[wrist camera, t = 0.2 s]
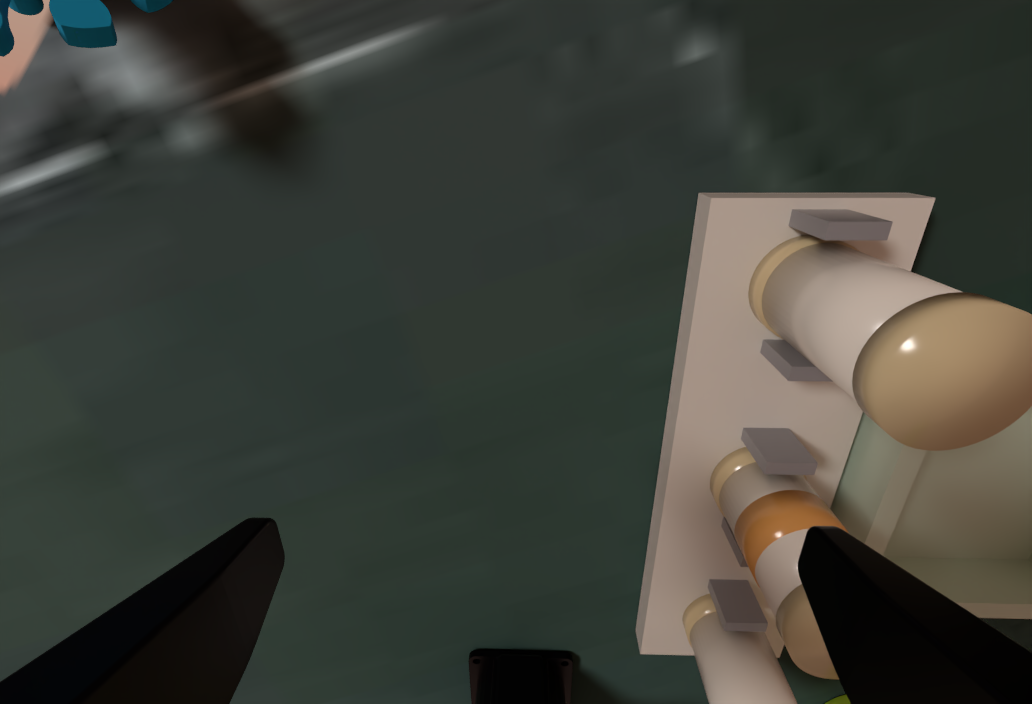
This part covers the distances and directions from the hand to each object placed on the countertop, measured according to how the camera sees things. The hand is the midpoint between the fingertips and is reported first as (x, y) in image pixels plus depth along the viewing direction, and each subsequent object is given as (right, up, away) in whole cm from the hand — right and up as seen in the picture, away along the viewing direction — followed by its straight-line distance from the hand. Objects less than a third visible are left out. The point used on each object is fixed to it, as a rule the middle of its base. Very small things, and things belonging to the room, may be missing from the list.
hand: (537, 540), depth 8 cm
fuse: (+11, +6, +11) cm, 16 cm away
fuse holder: (+11, -2, +16) cm, 20 cm away
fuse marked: (+11, -3, +15) cm, 19 cm away
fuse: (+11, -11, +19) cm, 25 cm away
